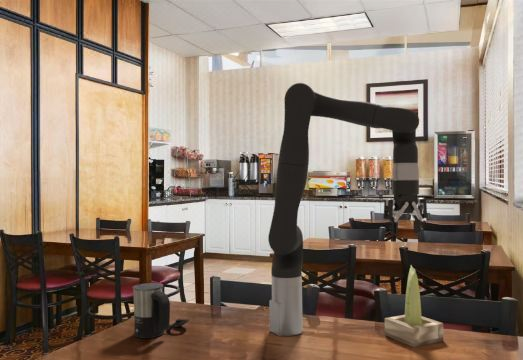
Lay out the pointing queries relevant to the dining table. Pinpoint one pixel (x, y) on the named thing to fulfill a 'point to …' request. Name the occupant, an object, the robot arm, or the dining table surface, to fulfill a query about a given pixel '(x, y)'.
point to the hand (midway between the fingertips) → (405, 234)
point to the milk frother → (152, 311)
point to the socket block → (414, 331)
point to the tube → (412, 300)
